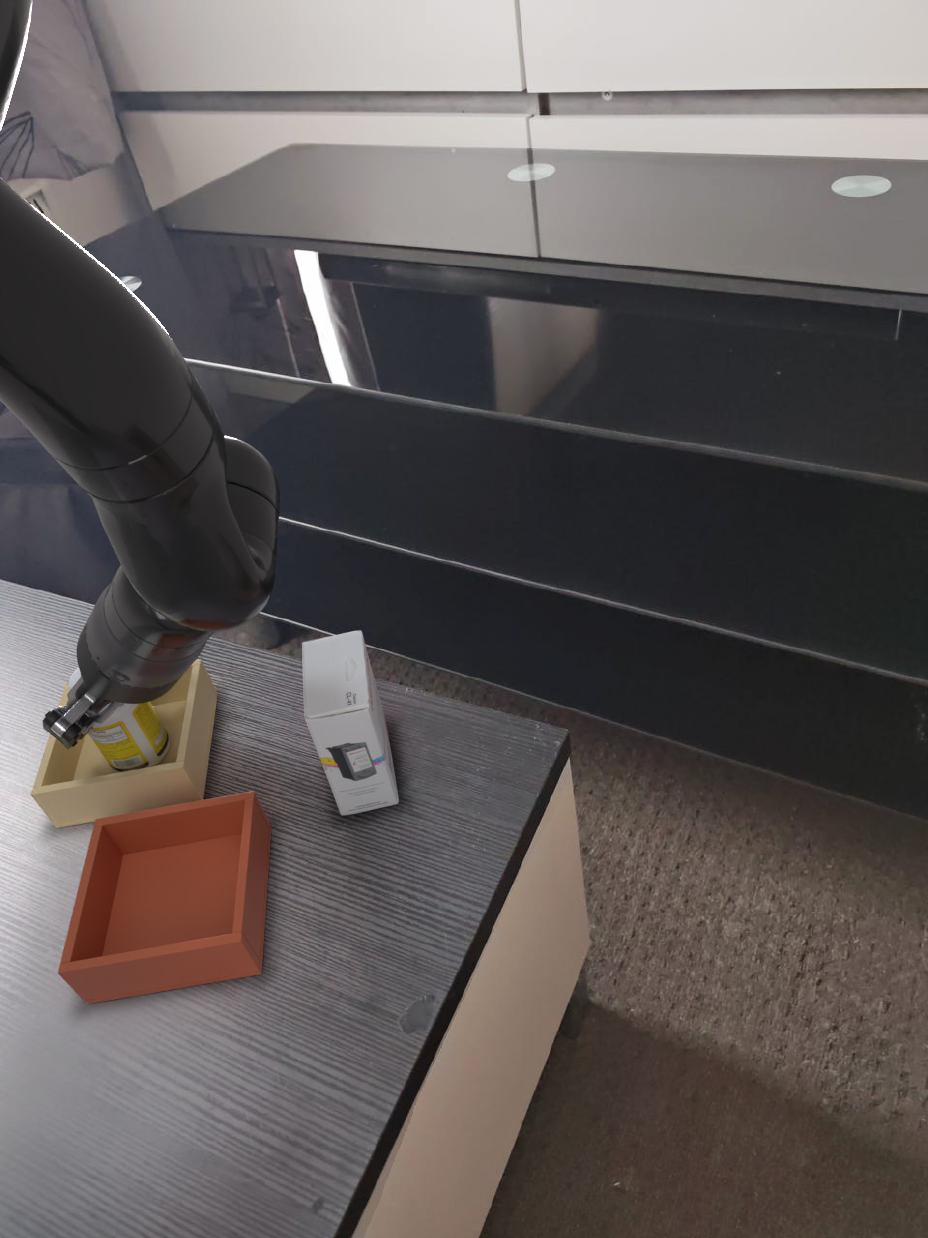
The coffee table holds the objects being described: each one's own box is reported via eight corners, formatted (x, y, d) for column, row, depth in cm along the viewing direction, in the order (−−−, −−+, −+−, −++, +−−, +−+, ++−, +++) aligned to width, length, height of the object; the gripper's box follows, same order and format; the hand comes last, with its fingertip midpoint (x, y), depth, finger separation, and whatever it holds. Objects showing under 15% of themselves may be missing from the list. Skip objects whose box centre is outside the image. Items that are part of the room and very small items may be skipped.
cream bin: (202, 802, 75) (183, 767, 72) (56, 828, 76) (30, 795, 72) (218, 693, 84) (201, 658, 81) (87, 717, 85) (65, 683, 82)
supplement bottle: (152, 719, 82) (107, 641, 76) (183, 748, 79) (139, 669, 73) (99, 757, 80) (48, 679, 74) (128, 788, 77) (78, 710, 70)
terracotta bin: (261, 974, 63) (240, 941, 60) (87, 1004, 63) (57, 973, 60) (272, 825, 72) (254, 790, 69) (119, 853, 73) (94, 819, 70)
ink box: (334, 738, 78) (296, 638, 70) (392, 725, 78) (361, 624, 70) (340, 821, 72) (299, 721, 64) (403, 806, 72) (370, 705, 64)
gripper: (172, 535, 67) (124, 617, 80) (21, 668, 58) (-5, 735, 72) (250, 605, 68) (189, 675, 82) (113, 745, 60) (70, 797, 73)
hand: (99, 703), depth 77 cm, fingers closed on supplement bottle, 5 cm apart
